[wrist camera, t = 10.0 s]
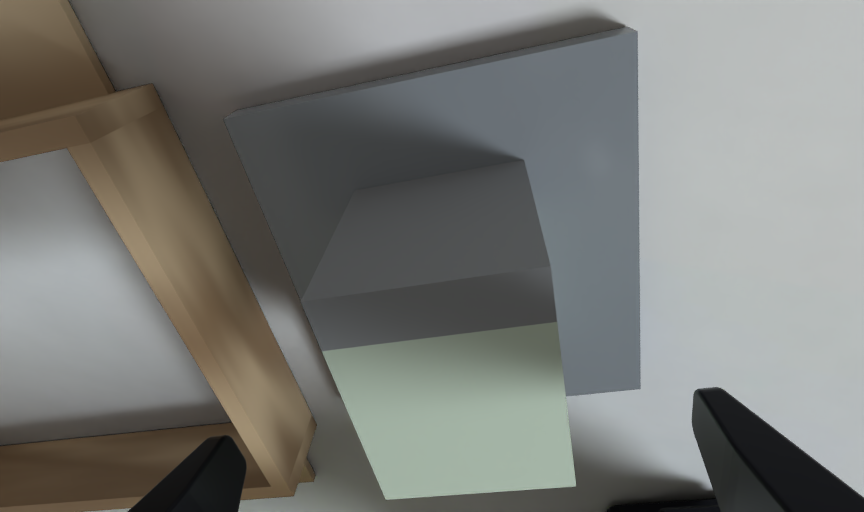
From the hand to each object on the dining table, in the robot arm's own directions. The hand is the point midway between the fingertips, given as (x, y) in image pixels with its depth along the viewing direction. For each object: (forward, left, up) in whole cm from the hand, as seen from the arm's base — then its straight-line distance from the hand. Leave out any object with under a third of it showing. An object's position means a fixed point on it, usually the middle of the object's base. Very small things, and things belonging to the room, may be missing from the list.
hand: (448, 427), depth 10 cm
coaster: (0, 0, -6) cm, 7 cm away
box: (0, 0, -6) cm, 6 cm away
